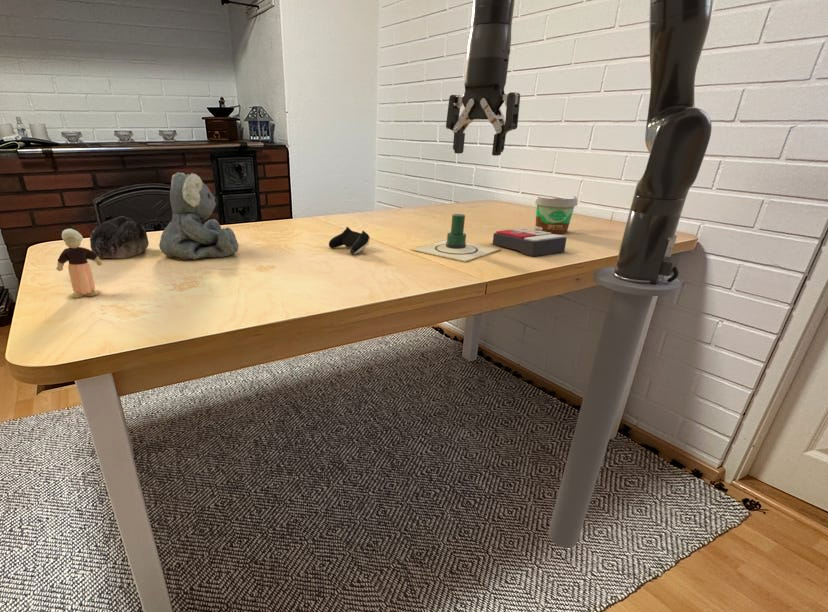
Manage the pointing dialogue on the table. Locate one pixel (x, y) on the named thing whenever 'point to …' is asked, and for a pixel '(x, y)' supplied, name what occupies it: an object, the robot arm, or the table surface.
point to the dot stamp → (457, 233)
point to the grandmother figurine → (78, 264)
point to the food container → (554, 214)
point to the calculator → (530, 241)
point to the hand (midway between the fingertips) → (477, 154)
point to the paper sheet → (456, 251)
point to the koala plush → (194, 222)
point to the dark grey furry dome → (118, 238)
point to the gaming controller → (351, 240)
